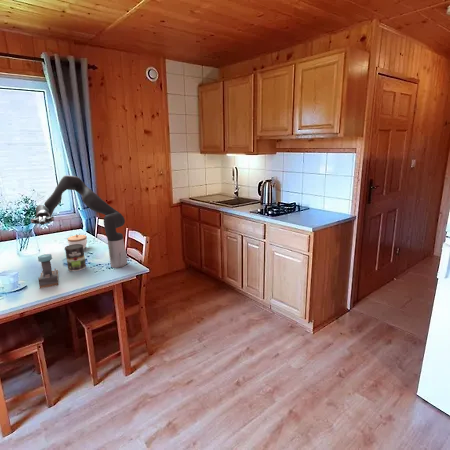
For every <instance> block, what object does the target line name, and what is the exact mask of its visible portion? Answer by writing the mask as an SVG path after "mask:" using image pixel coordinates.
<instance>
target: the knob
mask: <svg viewBox="0 0 450 450" xmlns="http://www.w3.org/2000/svg"><path fill="white" fill-rule="evenodd" d="M52 259H53V255H52V254H50V253H47V254H45V253H43V254H41V255H39V256H37V260H38V262H39V263H40V264H41V268H42V269H41V271H43V275H44V277H45V275H47V274H50V275H53V274H52V271H53V269H52V263H51V261H52Z"/></svg>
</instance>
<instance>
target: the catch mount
mask: <svg viewBox="0 0 450 450" xmlns="http://www.w3.org/2000/svg"><path fill="white" fill-rule="evenodd" d="M52 274H53V275H50V274H47V275H45V277H44V275H43V270H41V272H40V276H39V277H38V285H39V289H44V288H49V287H55V285H56V286H59V270H58V269H57V268H54V270H52Z"/></svg>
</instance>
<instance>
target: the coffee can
mask: <svg viewBox="0 0 450 450" xmlns="http://www.w3.org/2000/svg"><path fill="white" fill-rule="evenodd" d="M84 249H85V248H84ZM84 249H83V245H82V244H73V245H69V244H68V245H67V246H65V247H64V251H65V257H66V263H67V270H68V271H69V272H77V271H82V270H84V269H86V267H87V264H86V257H85V250H84Z"/></svg>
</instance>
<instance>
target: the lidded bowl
mask: <svg viewBox="0 0 450 450" xmlns="http://www.w3.org/2000/svg"><path fill="white" fill-rule="evenodd" d="M87 238H88V237H87V235H86V234H75V235H72V236H69V237H68V238H67V242H68V243H67V244H68V246H69V245H73V244H82V245H83V249H85V248H86V247H87V243H88V239H87Z"/></svg>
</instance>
